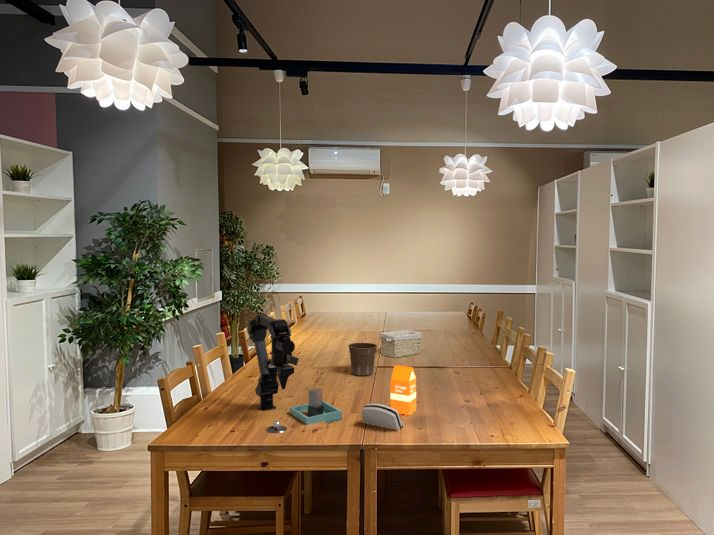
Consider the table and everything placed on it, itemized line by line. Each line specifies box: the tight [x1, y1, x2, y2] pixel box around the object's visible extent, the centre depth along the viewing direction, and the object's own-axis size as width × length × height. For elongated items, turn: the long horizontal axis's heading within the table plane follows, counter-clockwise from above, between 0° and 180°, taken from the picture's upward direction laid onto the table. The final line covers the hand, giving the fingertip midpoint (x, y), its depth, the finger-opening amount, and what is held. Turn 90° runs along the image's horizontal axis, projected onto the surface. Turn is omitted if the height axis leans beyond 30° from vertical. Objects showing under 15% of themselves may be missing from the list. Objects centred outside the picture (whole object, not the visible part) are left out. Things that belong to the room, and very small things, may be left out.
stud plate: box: [265, 420, 288, 434], centre depth 190 cm, size 8×8×5 cm
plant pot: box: [347, 342, 378, 377], centre depth 276 cm, size 16×16×16 cm
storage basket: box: [380, 329, 423, 359], centre depth 324 cm, size 24×16×15 cm
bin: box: [289, 400, 343, 426], centre depth 206 cm, size 16×16×4 cm
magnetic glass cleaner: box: [361, 403, 404, 431], centre depth 197 cm, size 17×5×10 cm, turn 59°
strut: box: [307, 388, 323, 417], centre depth 206 cm, size 5×5×11 cm
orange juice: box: [390, 364, 417, 416], centre depth 214 cm, size 8×9×20 cm
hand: (279, 386), depth 208 cm, fingers open, 9 cm apart
